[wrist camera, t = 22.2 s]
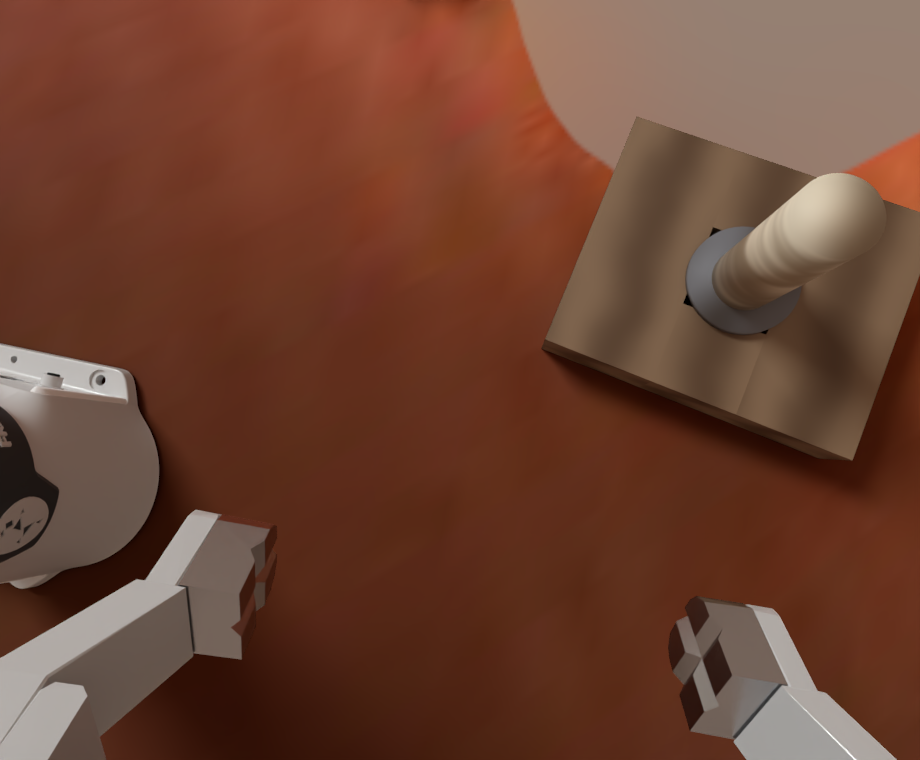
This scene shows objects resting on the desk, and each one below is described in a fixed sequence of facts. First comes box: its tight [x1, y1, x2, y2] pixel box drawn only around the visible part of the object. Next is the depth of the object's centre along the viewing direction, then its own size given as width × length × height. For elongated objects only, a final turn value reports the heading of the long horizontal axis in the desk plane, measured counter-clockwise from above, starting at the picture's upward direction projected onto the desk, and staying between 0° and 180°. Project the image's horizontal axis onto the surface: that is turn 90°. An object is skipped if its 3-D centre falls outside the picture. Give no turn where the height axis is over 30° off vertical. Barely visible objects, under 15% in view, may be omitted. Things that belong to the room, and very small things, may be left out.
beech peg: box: [685, 173, 886, 335], centre depth 35 cm, size 8×8×15 cm
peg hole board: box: [541, 117, 920, 460], centre depth 41 cm, size 22×18×4 cm
